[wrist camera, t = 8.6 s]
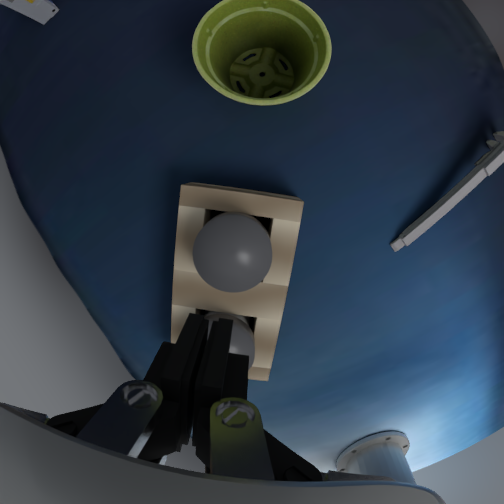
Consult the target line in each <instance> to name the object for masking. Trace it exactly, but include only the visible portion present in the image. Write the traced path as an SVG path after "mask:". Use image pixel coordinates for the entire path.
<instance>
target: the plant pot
mask: <svg viewBox="0 0 504 504" xmlns="http://www.w3.org/2000/svg"><path fill="white" fill-rule="evenodd" d="M253 53H255V54H256V56H253V57H251V58H249V59H247V60H246V61H243V59H244V58H245V57H247V56H248V55H250V54H253ZM192 54H193V59H194V62H195V65H196V67H197V69H198V71H199V73H200V74H201V76H202V77H203V78H204V79H205V81H206V82H207V83H208V84H209V85H210V86H212V87H213V88H214V89H215V90H217V91H218V92H219V93H221V94H223V95H224V96H226V97H228V98H230V99H233V100H235V101H238V102H242V103H245V104H251V105H276V104H282V103H285V102H289V101H292V100H294V99H296V98H298V97H300V96H302V95H304V94H305V93H307V92H308V91H310V90H311V89H312V88H313V87H314V86H315V85H316V84H317V83H318V82H319V81H320V80H321V78H322V77H323V75H324V74H325V72H326V70H327V68H328V65H329V62H330V58H331V40H330V36H329V33H328V31H327V29H326V27H325V25H324V23H323V21H322V20H321V19H320V17H319V16H318V15H317V14H316V13H315V12H314V11H313V10H312V9H311V8H309V7H308V6H307V5H305V4H304V3H302V2H300V1H298V0H223V1H221V2H220V3H218V4H217V5H215V6H214V7H213V8H212V9H210V10H209V11H208V12H207V13H206V14H205V15H204V16H203V18H202V19H201V21H200V23H199V24H198V26H197V28H196V30H195V33H194V37H193V42H192ZM279 59H280V60H282V61H283V62H284V63H285V64H286V65H287V67H288V70H287V71H286V70H284V67H283V66H282V64H281V63H280V61H279ZM261 72H264V73H265V76H263V77H261V76H260V75H259V74H260V73H261ZM237 81H239V82H240V84H241V86H242V88H243V89H244V90H245V93H243V92H241V91H240V90H239V88H238V87H237V84H236V82H237ZM279 91H282V92H281V94H280V95H279V96H277V97H275V98H269V96H271V95H273V94H275V93H277V92H279Z"/></svg>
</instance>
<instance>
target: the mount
mask: <svg viewBox="0 0 504 504" xmlns="http://www.w3.org/2000/svg"><path fill="white" fill-rule="evenodd" d="M303 204H304V202H303V201H302V200H301V199H299V198H298V197H294V196H288V195H282V194H275V193H269V192H262V191H255V190H248V189H241V188H234V187H226V186H219V185H211V184H202V183H194V182H191V183H187V184H183V185H181V191H180V200H179V210H178V221H177V232H176V244H175V258H174V274H173V293H172V318H171V343H176V341H177V339H178V337H179V335H180V333H181V330H182V328H183V326H184V324H185V322H186V319H187V317H188V315H189V313H194V314H200V315H201V309H203V310H209V311H216V312H222V313H229V314H236V315H243V316H250V317H254V322H253V328H252V332H253V335H254V338H255V358H254V362H253V365H252V366H251V368H250V369H249V370H248V379H253V380H262V381H268V378H269V374H270V369H271V365H272V360H273V356H274V352H275V347H276V342H277V338H278V333H279V329H280V324H281V319H282V315H283V310H284V305H285V300H286V295H287V290H288V285H289V280H290V275H291V270H292V265H293V259H294V254H295V249H296V243H297V238H298V232H299V227H300V221H301V215H302V210H303ZM211 210H219V211H226V212H242V213H246V214H248V215H255V216H262V217H268V218H270V224H269V230H268V234H269V237H270V241H271V246H272V263H271V267H270V269H269V272H268V273H267V275H266V276H265V278H264V279H263V280H262V281H261V282H260V283H259V284H258V285H256V286H255V287H253V288H251V289H249V290H246V291H243V292H236V293H231V292H224V291H220V290H218V289H215V288H213V287H212V286H210V285H209V284H207V283H206V282H205V281H204V280H203V279H202V278H201V276H200V275H199V274H198V272H197V270H196V268H195V265H194V262H193V245H194V241H195V239H196V237H197V235H198V233H199V232H200V230H201V229H202V228H203V227H204V226H205V225H206V223H207V222H208V221H210V217H211Z"/></svg>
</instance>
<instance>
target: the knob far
mask: <svg viewBox="0 0 504 504" xmlns="http://www.w3.org/2000/svg"><path fill="white" fill-rule="evenodd" d="M219 318H225V319H232V320H233V328H232V335H231V342H230V350H229V353H235V354H242V355H249V369H250V368H251V366H252V365H253V362H254V358H255V338H254V335H253V332H252V330H251V329H250V327H249V325H250V317H249V316H243V315H236V314H229V313H222V312H216V311H209V310H206V311H205V314H204V319H207V320H209V327H208V336H209V333H210V329H211V326H212V323H213V321H219ZM207 340H208V338H207ZM249 369H248V370H249Z"/></svg>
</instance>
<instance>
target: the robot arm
mask: <svg viewBox="0 0 504 504" xmlns="http://www.w3.org/2000/svg"><path fill="white" fill-rule="evenodd" d="M208 327H209V320H207V319H204V315H200V314H194V313H189V315H188V317H187V319H186V322H185V324H184V326H183V328H182V330H181V333H180V335H179V337H178V339H177V341H176V343H170V342H163V343H162V345H161V347H160V349H159V350H158V352H157V354H156V356H155V358H154V360H153V362H152V364H151V366H150V368H149V370H148V372H147V374H146V376H145V378H144V380H132V381H128V382H125V383H123V384H122V385H120V386H119V387H118V388H117V389H116V391H115V392H114V393H113V394H112V395H111V396H110V397H109V399H108V400H107V401H106V402H105V403H104V404H100V405H97V406H93V407H89V408H85V409H82V410H77V411H73V412H69V413H65V414H61V415H57V416H54V417H52V418H51V419H50V418H48V416H47V415H46V414H42V413H38V412H34V411H30V410H26V409H23V408H19V407H15V406H12V405H9V404H5V403H1V402H0V504H446V503H445V502H444V500H443V499H442V498H441V497H440V496H439V495H438V494H437V493H435V492H434V491H432V490H430V489H428V488H426V487H423V486H419V485H417V484H416V482H415V479H414V477H413V474H412V472H411V470H410V467H409V465H408V462H407V460H406V457H405V455H406V453H407V451H408V449H409V445H410V443H409V440H408V438H407V436H406V435H405V434H403V433H400V432H394V431H391V432H382V433H378V434H374V435H371V436H368V437H366V438H364V439H362V440H359V441H357V442H356V443H354V444H352V445H351V446H350V447H348V448H347V449H346V450H345V451H343V452H342V453H341V455H340V456H339V457H338V459H337V462H336V467H337V471H338V472H337V471H330V470H329V471H328V473H323V472H320V471H319V470H318V469H317V468H316V467H315V466H313V465H312V464H311V463H309V462H308V461H306V460H305V459H303V458H302V457H300V456H299V455H298V454H296V453H295V452H293V451H292V450H291V449H289V448H288V447H287V446H285V445H284V444H283V443H281V442H280V441H279V440H277V439H276V438H275V437H273V436H272V435H271V434H269V433H268V432H267V431H266V430H264V429H263V425H262V420H261V415H260V412H259V410H258V408H257V407H256V406H255V405H254V404H252V403H251V402H249V401H247V387H248V369H249V355H242V354H235V353H229V350H230V342H231V335H232V328H233V320H232V319H225V318H219V321H213V323H212V326H211V329H210V333H209V336H208ZM207 338H208V340H207ZM192 426H193V436H192V446H196V456H197V457H198V458H199V459H200V460H201V461H202V462H203V463H204V464H205V473H200V472H194V471H188V470H184V469H179V468H174V467H169V466H165V465H164V464H165V462H166V459H167V455H168V454H170V453H173V452H175V451H178V452H180V450H181V446H182V444H185V445H187V444H188V442H189V438H190V434H191V430H192Z"/></svg>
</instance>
